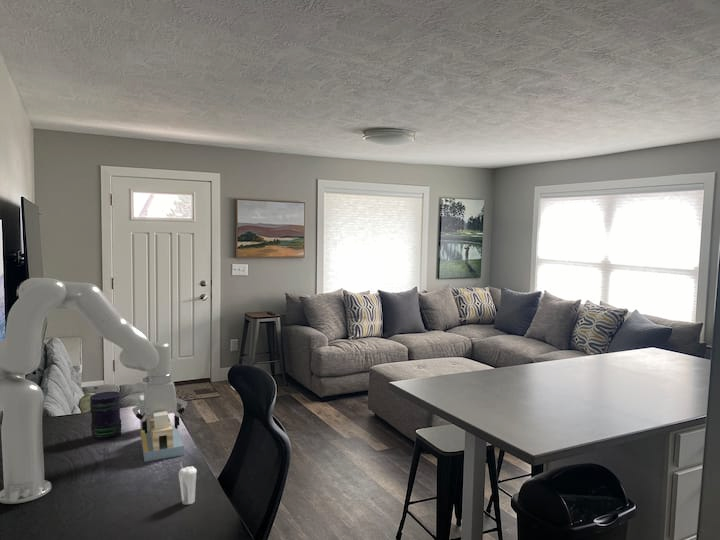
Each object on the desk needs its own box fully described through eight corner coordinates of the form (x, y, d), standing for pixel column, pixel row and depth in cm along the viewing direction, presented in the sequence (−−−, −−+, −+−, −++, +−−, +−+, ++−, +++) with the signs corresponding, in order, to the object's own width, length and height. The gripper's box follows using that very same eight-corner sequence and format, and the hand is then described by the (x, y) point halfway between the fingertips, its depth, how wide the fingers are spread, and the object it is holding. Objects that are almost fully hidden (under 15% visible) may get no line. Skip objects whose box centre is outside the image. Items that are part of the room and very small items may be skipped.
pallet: (173, 447, 174) (172, 429, 174) (153, 451, 172) (152, 432, 171) (167, 427, 194) (166, 410, 194) (149, 429, 192) (148, 413, 191)
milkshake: (189, 495, 147) (188, 459, 146) (201, 501, 144) (199, 463, 143) (174, 501, 143) (173, 464, 143) (185, 507, 140) (184, 469, 140)
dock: (184, 455, 176) (183, 445, 176) (144, 461, 171) (143, 452, 171) (176, 433, 196) (176, 425, 196) (141, 439, 191) (140, 430, 191)
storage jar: (123, 430, 201) (121, 382, 200) (120, 439, 191) (118, 388, 190) (93, 433, 198) (91, 384, 197) (89, 443, 188) (86, 391, 187)
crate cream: (168, 427, 176) (168, 414, 175) (154, 429, 174) (154, 416, 174) (167, 423, 179) (166, 411, 179) (153, 425, 178) (153, 412, 178)
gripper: (131, 385, 175) (133, 437, 176) (187, 378, 182) (189, 429, 183) (131, 380, 182) (132, 430, 183) (184, 374, 189) (186, 422, 190)
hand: (161, 429), depth 183 cm, fingers open, 9 cm apart
